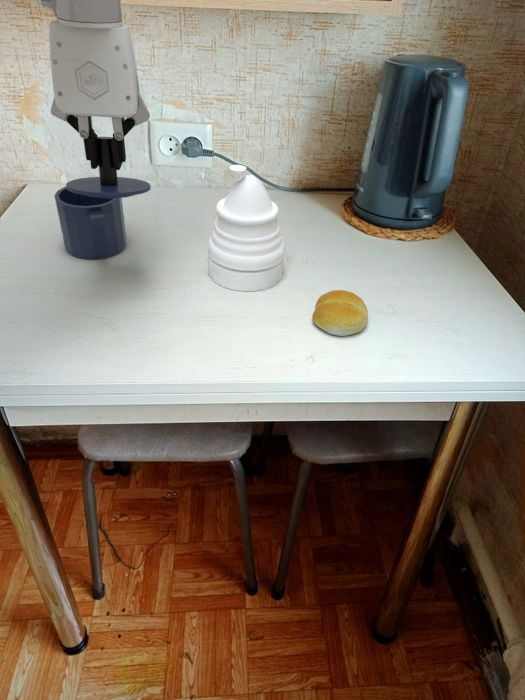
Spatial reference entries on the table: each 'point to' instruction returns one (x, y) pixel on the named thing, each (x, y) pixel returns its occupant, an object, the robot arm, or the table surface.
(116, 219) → the pot
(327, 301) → the bread roll
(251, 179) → the honey pot
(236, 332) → the table surface
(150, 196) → the table surface
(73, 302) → the table surface
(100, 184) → the lid
